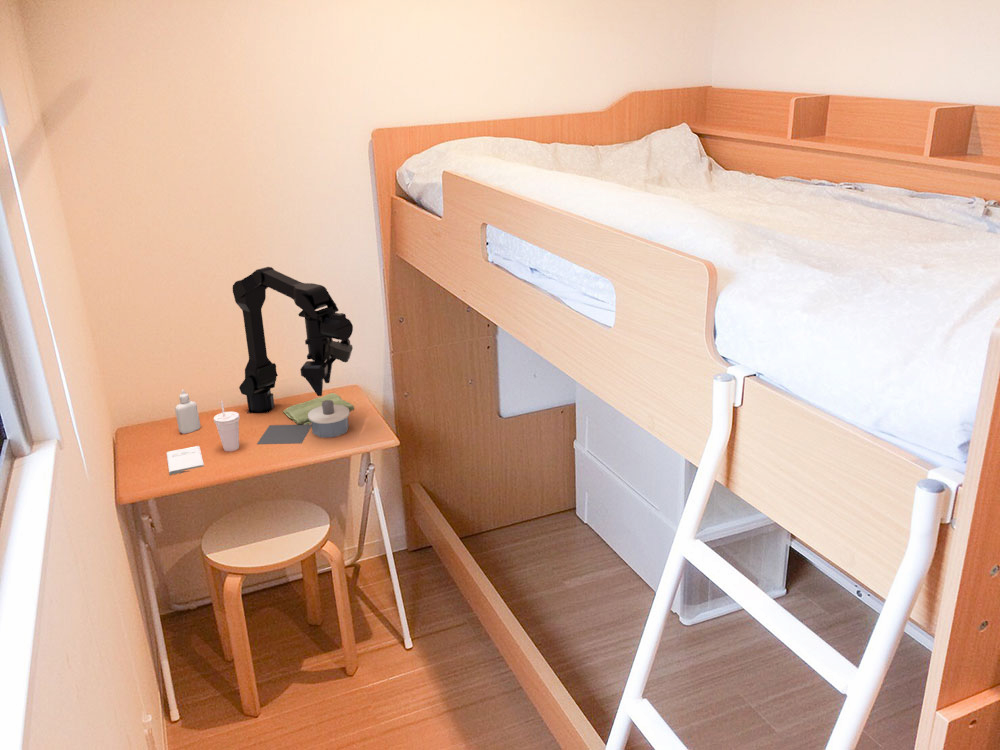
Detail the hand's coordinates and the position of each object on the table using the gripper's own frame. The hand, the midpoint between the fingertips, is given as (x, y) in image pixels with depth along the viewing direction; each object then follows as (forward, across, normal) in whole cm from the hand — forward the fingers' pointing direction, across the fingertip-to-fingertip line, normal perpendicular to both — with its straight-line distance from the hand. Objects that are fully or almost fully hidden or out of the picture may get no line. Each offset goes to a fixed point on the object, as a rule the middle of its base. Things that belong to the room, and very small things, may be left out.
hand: (323, 389), depth 215 cm
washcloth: (+13, +12, +5) cm, 18 cm away
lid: (+7, -1, -1) cm, 7 cm away
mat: (+12, -3, +11) cm, 17 cm away
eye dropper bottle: (+13, +2, +39) cm, 41 cm away
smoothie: (+12, -11, +23) cm, 28 cm away
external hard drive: (+13, -17, +33) cm, 39 cm away
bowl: (+12, -1, -1) cm, 12 cm away
